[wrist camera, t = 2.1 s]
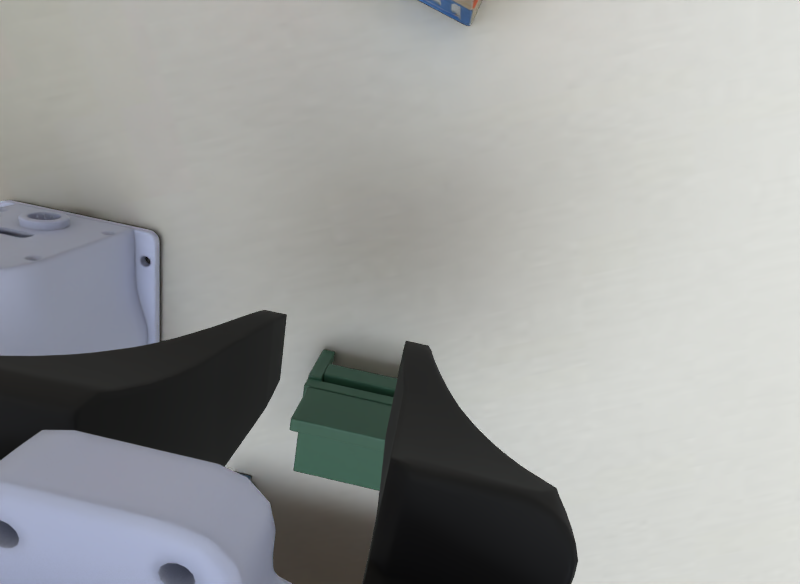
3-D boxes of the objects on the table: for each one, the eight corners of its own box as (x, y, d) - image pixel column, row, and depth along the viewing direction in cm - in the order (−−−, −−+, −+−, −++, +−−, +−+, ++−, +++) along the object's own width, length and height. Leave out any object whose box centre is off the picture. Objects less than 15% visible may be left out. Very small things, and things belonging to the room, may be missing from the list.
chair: (323, 348, 24) (286, 413, 19) (420, 370, 24) (409, 441, 19) (312, 431, 26) (275, 510, 21) (402, 451, 26) (387, 537, 21)
